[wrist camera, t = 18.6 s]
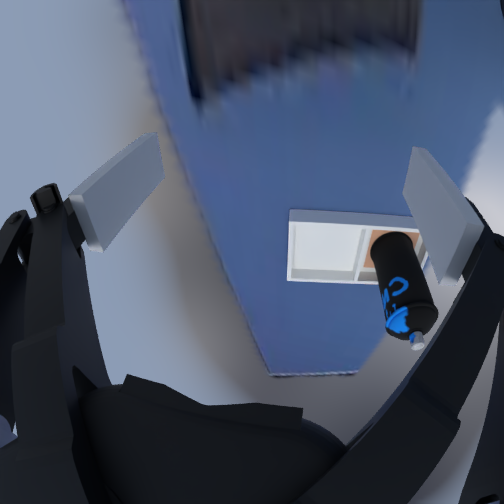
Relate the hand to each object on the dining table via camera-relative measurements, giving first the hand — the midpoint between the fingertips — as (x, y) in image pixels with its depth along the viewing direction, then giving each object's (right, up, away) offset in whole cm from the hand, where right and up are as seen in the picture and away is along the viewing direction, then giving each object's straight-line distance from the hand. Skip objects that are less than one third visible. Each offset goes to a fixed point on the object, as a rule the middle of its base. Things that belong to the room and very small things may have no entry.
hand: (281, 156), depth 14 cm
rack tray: (+17, -3, +36) cm, 40 cm away
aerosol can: (+23, -4, +35) cm, 42 cm away
